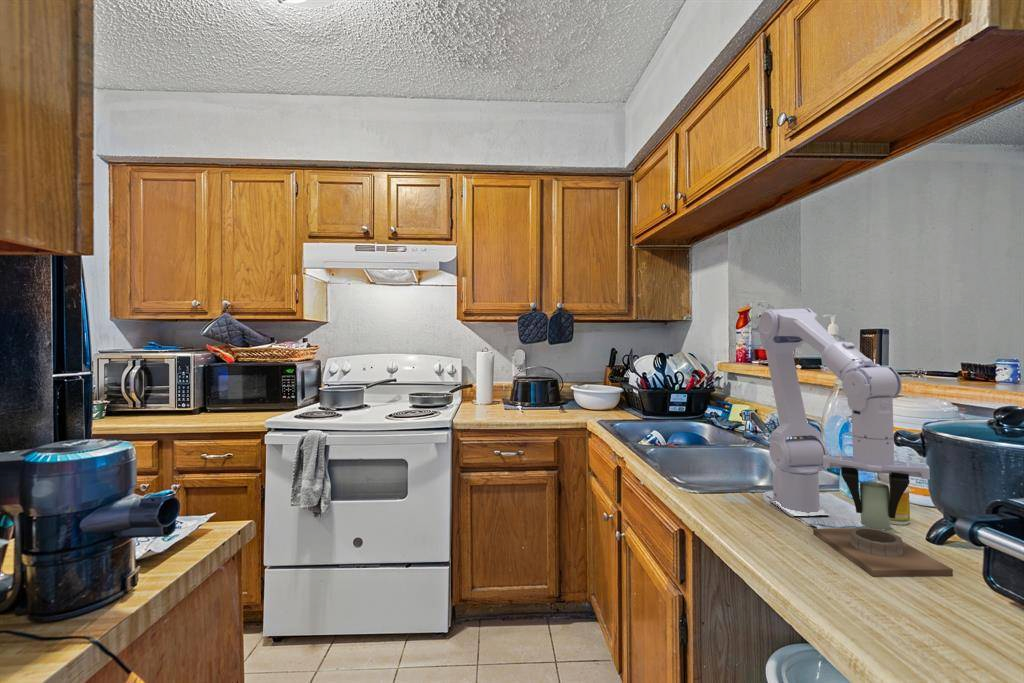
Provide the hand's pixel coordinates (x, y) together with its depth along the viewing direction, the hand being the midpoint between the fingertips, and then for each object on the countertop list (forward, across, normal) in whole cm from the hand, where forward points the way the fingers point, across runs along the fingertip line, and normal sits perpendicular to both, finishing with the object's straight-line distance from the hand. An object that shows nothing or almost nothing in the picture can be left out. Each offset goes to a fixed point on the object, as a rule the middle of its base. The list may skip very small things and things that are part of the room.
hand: (875, 513), depth 81 cm
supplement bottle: (+7, +3, +19) cm, 20 cm away
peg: (+2, 0, 0) cm, 2 cm away
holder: (+7, 0, 0) cm, 7 cm away
